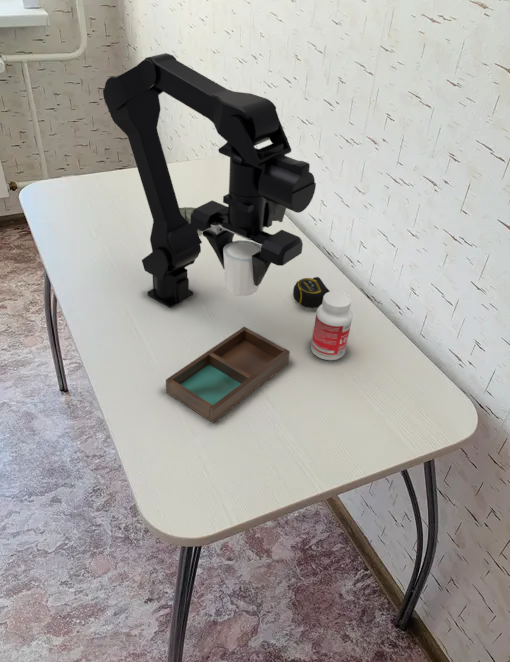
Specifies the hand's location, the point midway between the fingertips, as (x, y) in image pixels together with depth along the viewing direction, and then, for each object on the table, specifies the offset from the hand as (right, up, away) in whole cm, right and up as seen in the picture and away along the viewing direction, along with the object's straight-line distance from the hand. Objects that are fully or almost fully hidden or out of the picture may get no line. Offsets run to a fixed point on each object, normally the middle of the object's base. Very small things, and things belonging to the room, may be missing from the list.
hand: (242, 277), depth 104 cm
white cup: (0, -2, +1) cm, 2 cm away
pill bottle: (+15, -12, +6) cm, 20 cm away
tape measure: (+13, -2, +17) cm, 22 cm away
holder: (-2, -17, -1) cm, 17 cm away
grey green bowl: (-14, +18, +36) cm, 43 cm away
